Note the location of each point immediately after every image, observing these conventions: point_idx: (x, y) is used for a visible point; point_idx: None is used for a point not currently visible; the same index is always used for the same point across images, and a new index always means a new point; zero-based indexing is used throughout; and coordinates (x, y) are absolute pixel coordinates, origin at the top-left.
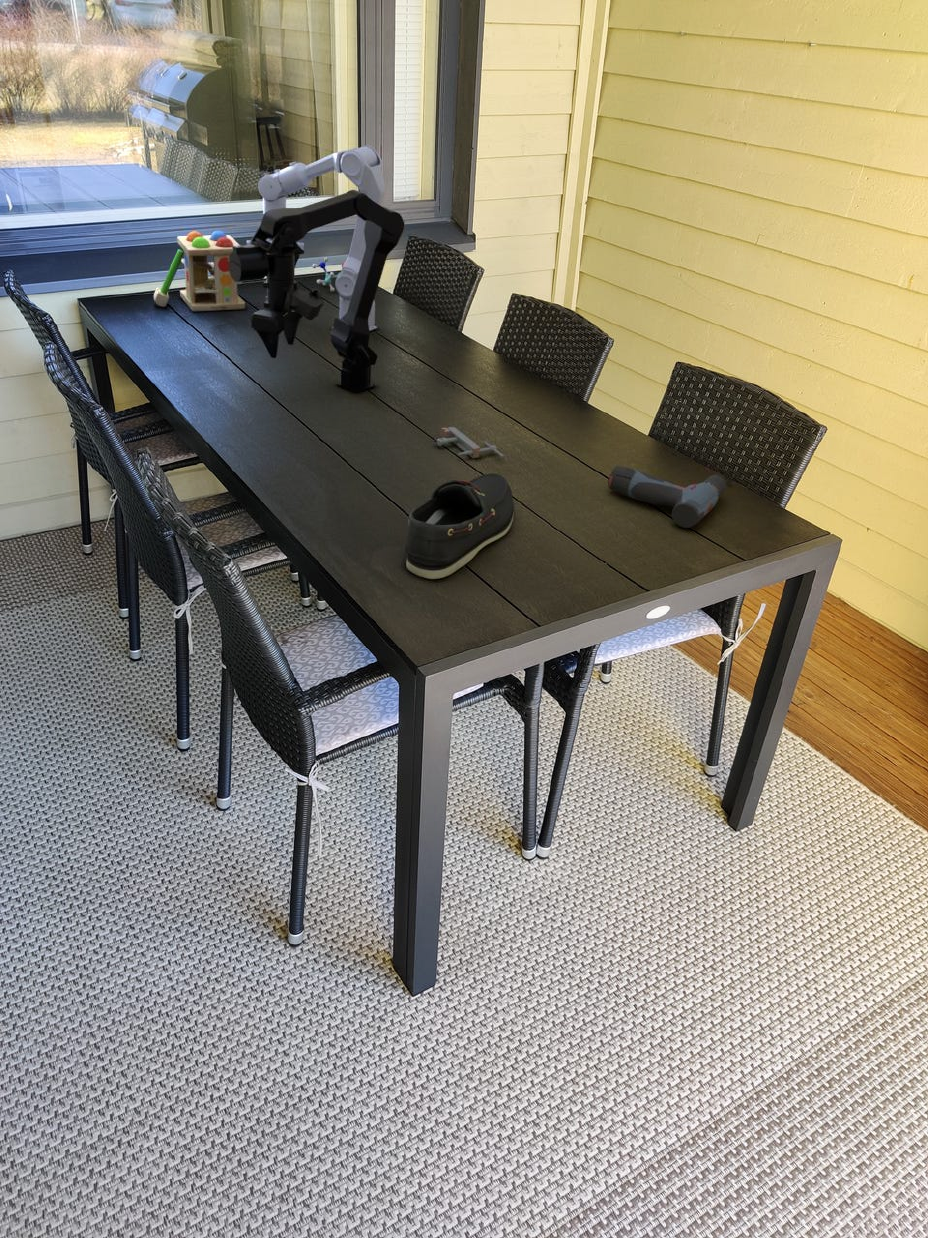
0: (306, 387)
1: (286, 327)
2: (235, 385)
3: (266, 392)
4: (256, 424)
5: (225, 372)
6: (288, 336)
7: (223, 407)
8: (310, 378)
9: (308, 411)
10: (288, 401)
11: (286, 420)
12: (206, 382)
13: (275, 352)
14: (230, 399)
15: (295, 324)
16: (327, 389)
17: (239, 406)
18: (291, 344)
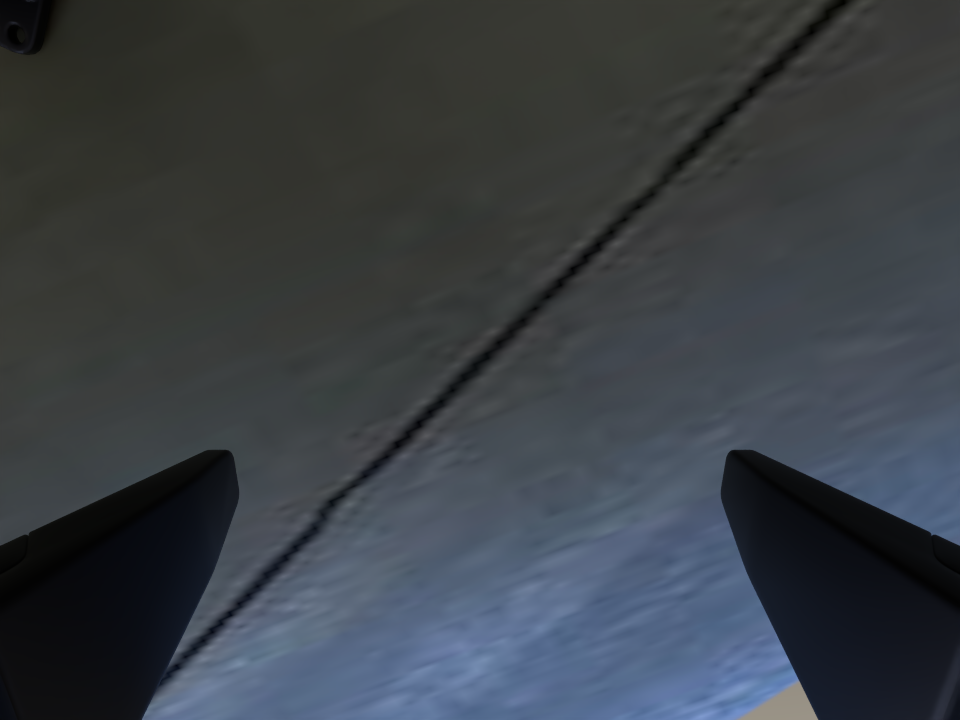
0: (211, 246)
1: (132, 672)
2: (406, 593)
3: (418, 428)
4: (906, 295)
5: (273, 688)
6: (198, 551)
7: (714, 533)
8: (53, 282)
9: (602, 66)
10: (491, 261)
11: (801, 149)
12: (439, 705)
13: (811, 481)
14: (598, 545)
15: (34, 603)
16: (155, 94)
17: (674, 474)
18: (232, 459)
